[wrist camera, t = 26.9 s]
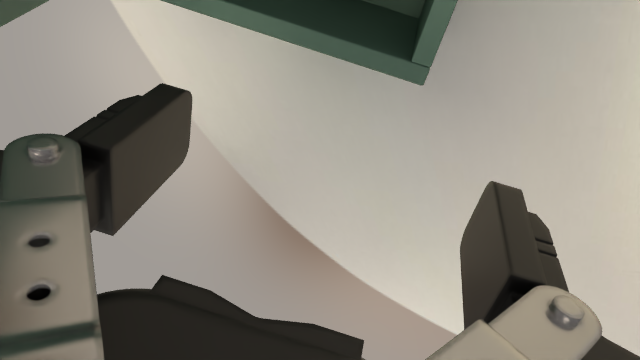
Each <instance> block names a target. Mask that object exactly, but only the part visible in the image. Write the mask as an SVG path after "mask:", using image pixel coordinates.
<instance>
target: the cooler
mask: <svg viewBox="0 0 640 360" xmlns="http://www.w3.org/2000/svg"><path fill="white" fill-rule="evenodd" d="M162 1H165V2H168V3H171V4H174V5H177V6H180V7H183V8H186V9H189V10H192V11H195V12H198V13H201V14H204V15H207V16H210V17H213V18H217V19H220V20H223V21H226V22H229V23H232V24H235V25H238V26H241V27H244V28H247V29H250V30H253V31H256V32H259V33H262V34H265V35H268V36H272V37H275V38H278V39H281V40H284V41H287V42H290V43H293V44H296V45H299V46H302V47H305V48H308V49H311V50H314V51H317V52H320V53H324V54H327V55H330V56H333V57H336V58H339V59H342V60H345V61H348V62H351V63H354V64H357V65H360V66H363V67H366V68H369V69H372V70H375V71H379V72H382V73H385V74H388V75H391V76H394V77H397V78H400V79H403V80H406V81H409V82H412V83H415V84H418V85H424V83H425V80H426V78H427V75H428V73H429V70H430V67H431V65H432V63H433V60H434V58H435V55H436V53H437V50H438V48H439V45H440V43H441V40H442V38H443V35H444V33H445V31H446V28H447V26H448V23H449V21H450V18H451V16H452V13H453V11H454V8H455V6H456V3H457V1H458V0H162Z"/></svg>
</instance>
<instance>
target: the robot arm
mask: <svg viewBox="0 0 640 360" xmlns="http://www.w3.org/2000/svg"><path fill="white" fill-rule="evenodd" d="M191 112H192V95H191V93H190V92H189V91H187V90H184V89H180V88H177V87H173V86H170V85H167V84H163V83H162V84H159V85H158V86H157V87H155V88H154V89H152V90H151V91H149V92H148V93H146V94H145V95H143V96H139V95H137V96H133V97H129V98H126V99H122V100H119V101H118V102H116V103H115V104H113V105H111V106H110V107H108V108H107V110H104V111H102V112H101V113H99V114H97V116H96V117H93V118H91V119H90V120H88V121H87V122H85V123H83V124H82V125H80V126H79V127H78V128H76V129H74V130H73V131H71V132H69V133H68V134H66V135H65V136H62V135H57V134H35V135H29V136H24V137H21V138H19V139H16V140H14V141H13V142H11V143H9V144H8V145H7V146H6V148H5V150H0V360H365V359H363V358H362V357H361V355H362V349H363V344H364V340H361V339H358V338H355V337H352V336H349V335H346V334H343V333H340V332H337V331H334V330H330V329H327V328H324V327H321V326H318V325H315V324H309V323H299V322H290V321H280V320H271V319H262V318H258V317H255V316H253V315H251V314H249V313H248V312H246V311H244V310H242V309H241V308H239V307H237V306H236V305H234V304H232V303H231V302H229V301H227V300H226V299H224V298H222V297H221V296H219V295H217V294H215V293H213V292H212V291H210V290H207V289H204V288H201V287H198V286H195V285H192V284H188V283H185V282H182V281H179V280H176V279H173V278H170V277H167V276H164V275H162V276H161V277H160V279H159V280H158V281H157V283H156V284H155V285H154V287H153V288H152V289H123V290H115V291H110V292H105V293H101V294H97V292H96V283H95V273H94V264H93V254H92V244H91V235H90V233H91V232H92V231H93V230H96V231H99V232H102V233H105V234H108V235H112V236H113V235H114V234H115V233H116V232H117V231H118V230H119V229H120V228H121V227H122V226H123V225H124V224H125V223H126V222H127V221H128V220H129V219H130V218H131V216H132V215H134V213H135V212H136V211H137V210H138V209H139V208H140V207H141V206H142V205H143V204H144V203H145V202H146V201H147V200H148V199H149V198H150V197H151V196H152V195H153V194H154V192H155V191H156V190H157V189H158V188H159V187H160V186H161V185H162V184H163V183H164V182H165V181H166V180H167V179H168V178H169V177H170V176H171V175H172V174H173V173H174V172H175V171H176V169H178V167H179V166H180V165H181V164H182V163H183V161H184V159H185V157H186V154H187V152H188V148H189V141H190V140H189V139H190V126H191ZM556 257H557V253H556V250H555V247H554V246H553V241H552V238H551V235H550V232H549V229H548V228H547V227H546V225H545V224H544V223H543V222H542V220H541V219H540V218H539V217H538V216H537V214H534V213H530V212H528V211H527V207H526V204H525V200H524V196H523V193H522V191H521V190H520V189H517V188H514V187H510V186H507V185H503V184H500V183H497V182H493V181H491V182H489V183H488V185H487V186H486V188H485V190H484V192H483V194H482V196H481V198H480V200H479V202H478V204H477V206H476V208H475V210H474V212H473V214H472V216H471V218H470V220H469V222H468V224H467V226H466V229H465V231H464V234H463V237H462V241H461V246H460V259H461V277H462V295H463V313H464V331H462V332H461V333H460V334H458V335H457V336H456V337H454V338H453V339H452V340H451V341H449V342H448V343H447V344H445V345H444V346H443V347H441V348H440V349H439V350H437V351H436V352H435V353H433V354H432V355H431V356H429V357H428V358H427V359H425V360H640V357H639V356H637V355H635V354H633V353H632V352H630V351H628V350H626V349H624V348H622V347H621V346H619V345H617V344H615V343H613V342H611V341H610V340H608V339H606V338H605V337H603V336H602V326H601V323H600V321H599V319H598V317H597V316H596V314H595V313H594V312H593V311H592V310H591V308H590V307H589V306H588V305H586V304H585V303H584V302H583V301H582V300H580V299H579V298H577V297H576V296H574V295H573V294H571V293H569V291H568V287H567V284H566V281H565V278H564V275H563V272H562V269H561V266H560V263H559V260H558V258H556Z"/></svg>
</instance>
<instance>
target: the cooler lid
mask: <svg viewBox="0 0 640 360" xmlns="http://www.w3.org/2000/svg"><path fill="white" fill-rule="evenodd" d="M47 1H49V0H0V27H1V26H3V25H5V24H7V23H8V22H10V21H12V20H14V19H15V18H17V17H19V16H21V15H23V14H25V13H27V12H29V11H31V10H32V9H34V8H36V7H38V6H40V5H41V4H43V3H45V2H47Z"/></svg>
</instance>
